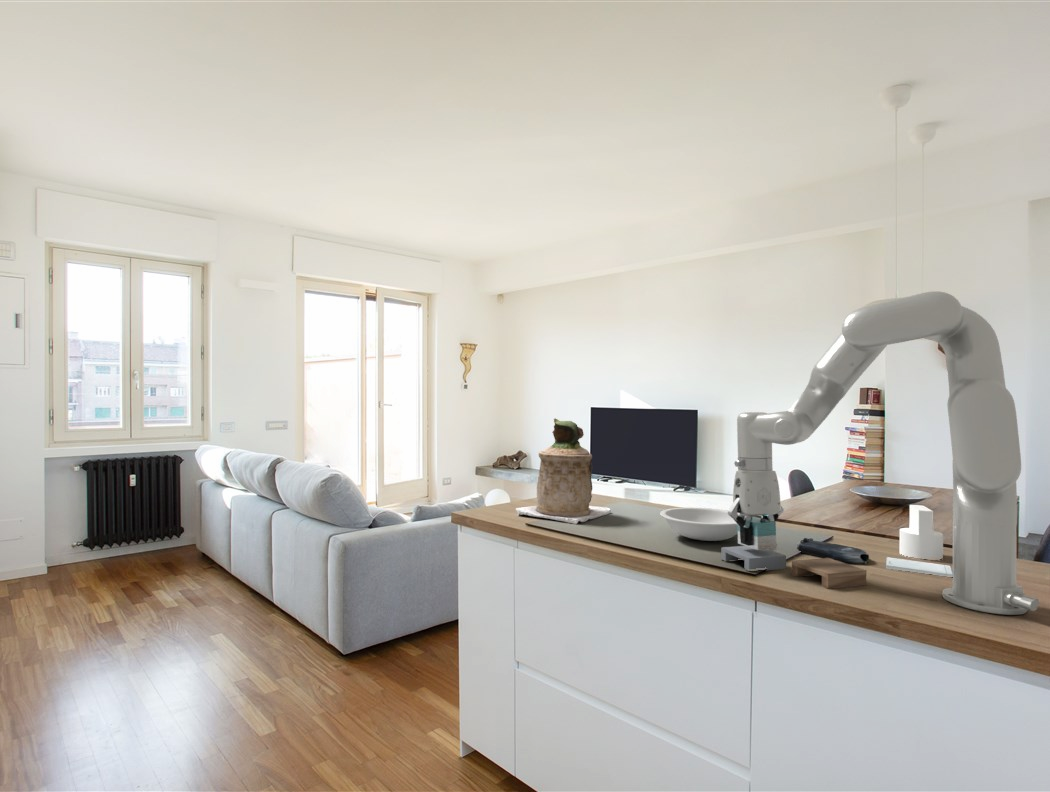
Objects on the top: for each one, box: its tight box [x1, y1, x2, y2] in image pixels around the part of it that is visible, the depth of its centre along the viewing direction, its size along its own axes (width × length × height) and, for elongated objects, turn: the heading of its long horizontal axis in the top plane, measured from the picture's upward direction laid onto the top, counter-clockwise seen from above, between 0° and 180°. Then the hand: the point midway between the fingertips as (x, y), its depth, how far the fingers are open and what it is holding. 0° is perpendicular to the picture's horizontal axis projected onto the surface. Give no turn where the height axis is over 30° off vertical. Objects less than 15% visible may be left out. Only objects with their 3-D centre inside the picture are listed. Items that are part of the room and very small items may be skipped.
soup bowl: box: [659, 506, 740, 542], centre depth 160 cm, size 24×24×7 cm
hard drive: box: [885, 556, 953, 578], centre depth 133 cm, size 2×8×12 cm
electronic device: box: [796, 537, 870, 565], centre depth 143 cm, size 9×6×15 cm
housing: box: [737, 516, 777, 550], centre depth 135 cm, size 7×5×7 cm
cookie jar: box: [515, 417, 612, 525], centre depth 193 cm, size 25×25×32 cm
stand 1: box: [720, 545, 787, 571], centre depth 135 cm, size 10×10×3 cm
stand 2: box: [791, 557, 867, 589], centre depth 124 cm, size 10×10×3 cm
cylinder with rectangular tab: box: [898, 504, 944, 559], centre depth 145 cm, size 9×9×12 cm
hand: (756, 542), depth 134 cm, fingers closed on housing, 5 cm apart
